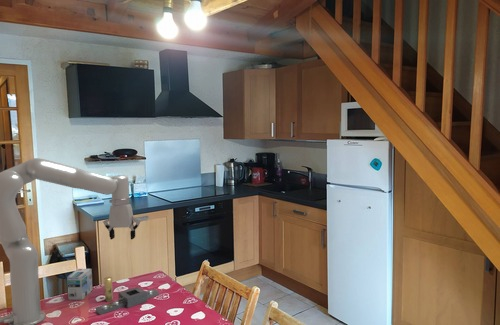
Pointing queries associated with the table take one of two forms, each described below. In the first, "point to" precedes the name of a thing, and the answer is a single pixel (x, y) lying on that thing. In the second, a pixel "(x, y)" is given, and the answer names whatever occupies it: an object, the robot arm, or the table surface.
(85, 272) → the light bulb box
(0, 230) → the robot arm
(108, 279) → the brass pin
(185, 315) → the table surface
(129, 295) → the grey slotted base plate
